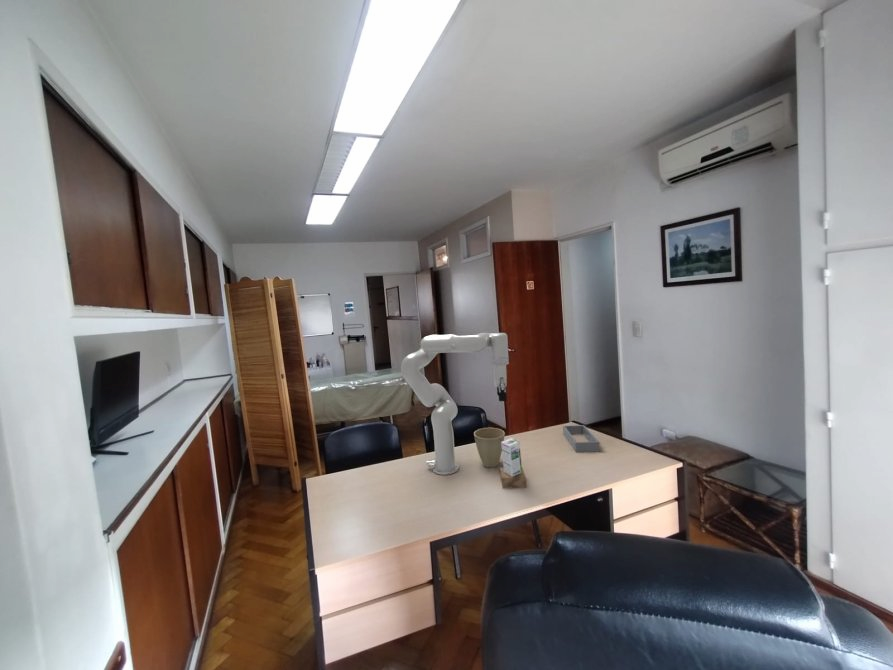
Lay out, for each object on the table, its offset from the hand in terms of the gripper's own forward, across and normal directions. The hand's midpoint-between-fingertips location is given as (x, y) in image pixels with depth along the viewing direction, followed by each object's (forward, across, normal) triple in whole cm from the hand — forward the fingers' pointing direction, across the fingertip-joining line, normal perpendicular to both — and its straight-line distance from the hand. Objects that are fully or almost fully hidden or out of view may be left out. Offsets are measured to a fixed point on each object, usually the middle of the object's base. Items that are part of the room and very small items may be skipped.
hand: (501, 398), depth 170 cm
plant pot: (+36, -12, -6) cm, 39 cm away
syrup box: (+32, +7, +3) cm, 33 cm away
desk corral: (+36, -36, +44) cm, 67 cm away
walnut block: (+37, +7, +3) cm, 37 cm away
